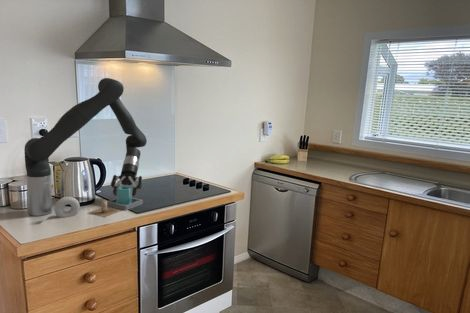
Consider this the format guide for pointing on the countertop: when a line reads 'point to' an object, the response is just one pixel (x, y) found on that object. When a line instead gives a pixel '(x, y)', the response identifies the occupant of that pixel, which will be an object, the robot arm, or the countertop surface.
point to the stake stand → (104, 210)
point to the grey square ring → (115, 204)
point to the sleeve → (125, 195)
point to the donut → (65, 201)
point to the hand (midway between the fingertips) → (124, 195)
